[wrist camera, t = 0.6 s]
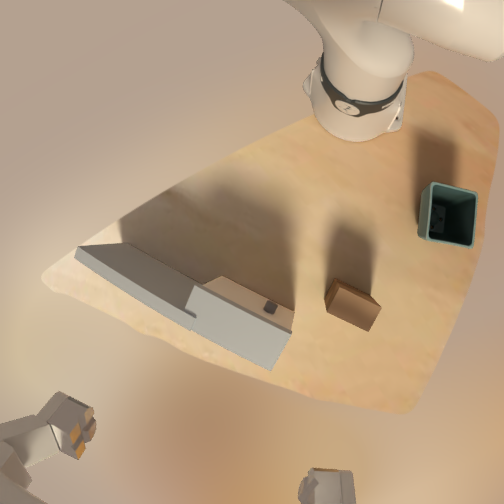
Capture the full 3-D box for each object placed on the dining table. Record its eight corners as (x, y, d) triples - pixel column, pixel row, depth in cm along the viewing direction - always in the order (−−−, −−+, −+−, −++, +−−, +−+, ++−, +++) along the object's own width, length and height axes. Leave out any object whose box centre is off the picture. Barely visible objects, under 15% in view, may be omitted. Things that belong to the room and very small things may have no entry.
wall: (133, 224, 58) (85, 223, 43) (296, 308, 54) (291, 335, 39) (123, 252, 59) (74, 257, 44) (281, 337, 54) (270, 372, 40)
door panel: (225, 268, 55) (202, 278, 43) (298, 304, 53) (294, 324, 41) (218, 283, 55) (194, 296, 44) (290, 320, 54) (284, 343, 42)
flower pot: (455, 197, 47) (478, 192, 38) (450, 246, 48) (473, 249, 39) (412, 188, 49) (431, 180, 40) (407, 239, 49) (425, 240, 41)
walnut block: (334, 277, 52) (339, 286, 43) (370, 295, 51) (381, 307, 42) (324, 298, 53) (326, 311, 44) (359, 316, 52) (368, 331, 43)
